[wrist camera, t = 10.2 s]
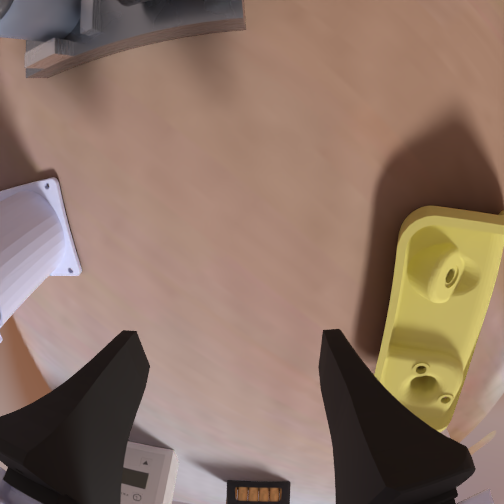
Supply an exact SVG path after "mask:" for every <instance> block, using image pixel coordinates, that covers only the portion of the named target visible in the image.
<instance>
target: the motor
mask: <svg viewBox="0 0 504 504" xmlns="http://www.w3.org/2000/svg"><path fill="white" fill-rule="evenodd" d="M237 30H246V24H245V10H244V0H81V17H80V19H79V21H78V23H77V25H76V26H75V28H74V29H73V30H72V31H71V32H70V33H69V34H68V35H67V36H66V37H65V38H63V39H59V38H53V39H51V40H49V41H47V42H39V41H32V40H26V53H25V68H26V78H49V77H51V76H53V75H56V74H58V73H61V72H63V71H65V70H68V69H71V68H73V67H76V66H78V65H81V64H84V63H87V62H90V61H92V60H95V59H98V58H101V57H105V56H108V55H111V54H114V53H118V52H121V51H125V50H128V49H132V48H136V47H140V46H144V45H148V44H153V43H157V42H162V41H166V40H172V39H177V38H182V37H188V36H195V35H201V34H209V33H217V32H226V31H237Z"/></svg>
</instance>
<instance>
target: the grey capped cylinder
mask: <svg viewBox="0 0 504 504" xmlns="http://www.w3.org/2000/svg"><path fill="white" fill-rule="evenodd" d="M80 17H81V0H0V37H4V38H15V39H24V40H32V41H39V42H47V41H49V40H51V39H53V38H59V39H63V38H65V37H66V36H67V35H68V34H69V33H70V32H71V31H72V30H73V29H74V28H75V26H76V25H77V23H78V21H79V19H80Z"/></svg>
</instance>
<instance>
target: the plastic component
mask: <svg viewBox="0 0 504 504" xmlns="http://www.w3.org/2000/svg"><path fill="white" fill-rule="evenodd" d="M503 247H504V210H502V211H501V212H500V213H499V215H495V214H488V213H482V212H476V211H469V210H462V209H455V208H448V207H440V206H424V207H421V208H418V209H417V210H415V211H413V212H412V213H411V214H410V215H408V216H407V218H406V219H405V220H404V222H403V223H402V225H401V228H400V231H399V236H398V244H397V253H396V261H395V269H394V277H393V284H392V290H391V297H390V303H389V308H388V314H387V319H386V325H385V330H384V334H383V339H382V344H381V348H380V353H379V357H378V361H377V365H376V369H375V374H374V376H375V377H376V378H377V379H378V380H379V381H380V383H381V384H382V385H383V386H384V387H385V388H386V389H387V390H388V391H389V392H390V393H391V394H392V395H393V396H394V397H395V398H396V399H397V400H398V401H399V402H400V403H401V404H403V405H404V406H405V407H406V408H407V409H408V410H409V411H411V412H412V413H413V414H414V415H416V416H417V417H418V418H420V419H421V420H422V421H424V422H425V423H427V424H428V425H429V426H431V427H432V428H434V429H435V430H437V431H438V432H442V431H443V430H444V429H446V427H447V426H448V424H449V423H450V421H451V419H452V416H453V413H454V410H455V407H456V404H457V401H458V398H459V395H460V393H461V390H462V387H463V384H464V381H465V378H466V375H467V372H468V368H469V365H470V362H471V359H472V356H473V353H474V349H475V346H476V343H477V340H478V336H479V333H480V330H481V327H482V323H483V321H484V318H485V315H486V312H487V309H488V305H489V302H490V299H491V296H492V292H493V289H494V285H495V281H496V277H497V274H498V269H499V265H500V261H501V256H502V252H503ZM448 272H449V273H448ZM447 273H448V275H447ZM446 276H447V277H446ZM444 397H447V398H444Z"/></svg>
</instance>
